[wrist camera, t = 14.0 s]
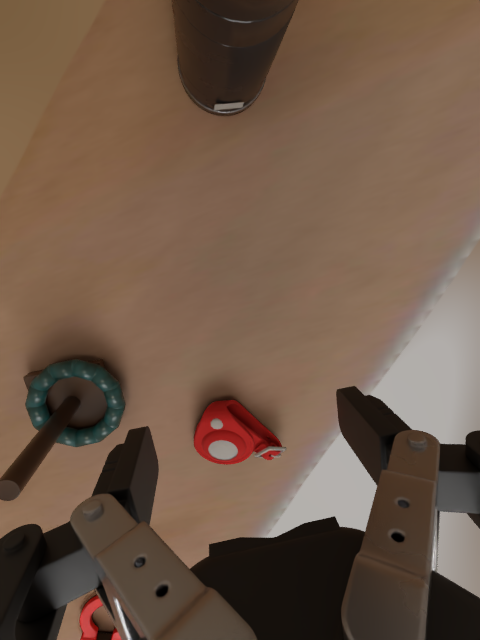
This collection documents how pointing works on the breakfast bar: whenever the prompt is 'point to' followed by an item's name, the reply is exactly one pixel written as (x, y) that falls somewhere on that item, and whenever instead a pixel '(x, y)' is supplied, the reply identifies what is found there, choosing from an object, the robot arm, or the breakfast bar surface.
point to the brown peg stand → (55, 426)
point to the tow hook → (90, 631)
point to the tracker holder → (233, 435)
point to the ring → (85, 371)
